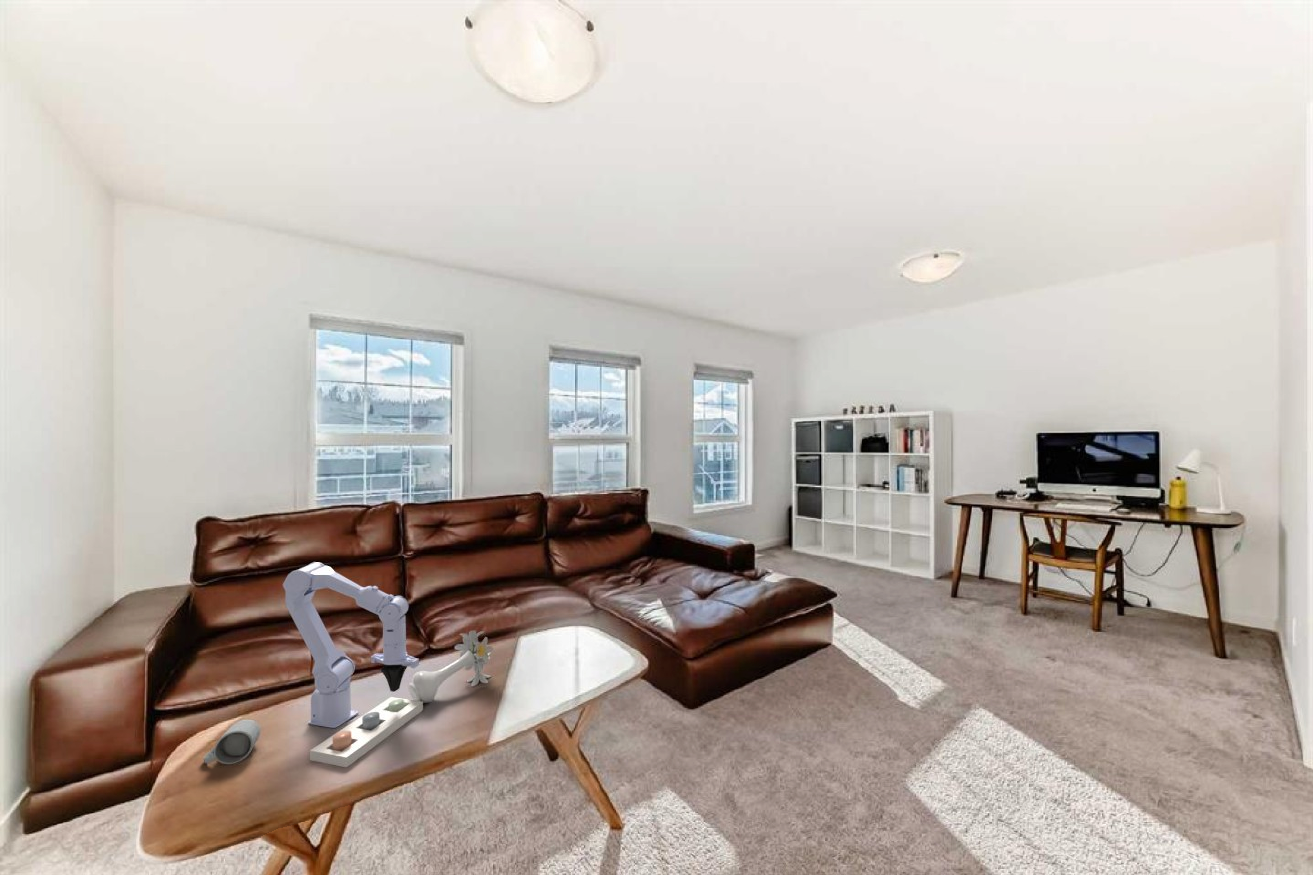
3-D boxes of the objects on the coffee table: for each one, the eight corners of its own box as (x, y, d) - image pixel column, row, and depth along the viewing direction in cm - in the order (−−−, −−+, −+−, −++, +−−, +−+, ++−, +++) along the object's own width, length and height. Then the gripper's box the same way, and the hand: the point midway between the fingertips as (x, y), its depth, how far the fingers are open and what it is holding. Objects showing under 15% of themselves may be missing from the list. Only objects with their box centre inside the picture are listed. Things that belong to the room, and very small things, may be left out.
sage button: (385, 716, 142) (385, 705, 142) (396, 709, 146) (395, 698, 146) (397, 718, 141) (397, 707, 141) (407, 711, 145) (407, 700, 145)
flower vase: (428, 730, 148) (502, 678, 165) (416, 680, 142) (494, 632, 159) (408, 707, 156) (481, 660, 174) (396, 659, 150) (472, 615, 168)
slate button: (358, 730, 134) (358, 718, 134) (371, 722, 138) (370, 710, 138) (371, 733, 133) (371, 720, 133) (383, 724, 137) (382, 712, 137)
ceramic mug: (262, 741, 132) (261, 712, 132) (253, 759, 124) (251, 728, 124) (210, 752, 127) (209, 722, 127) (197, 772, 120) (196, 740, 120)
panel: (310, 759, 124) (310, 750, 124) (391, 705, 149) (391, 696, 149) (346, 767, 121) (346, 757, 121) (422, 709, 146) (422, 701, 146)
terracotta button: (328, 751, 125) (328, 738, 125) (342, 742, 129) (342, 729, 129) (341, 754, 124) (341, 741, 124) (355, 744, 128) (355, 731, 128)
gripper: (426, 638, 145) (426, 685, 145) (384, 634, 149) (384, 680, 149) (408, 648, 139) (408, 698, 139) (364, 643, 142) (365, 691, 142)
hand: (395, 689), depth 143 cm, fingers closed
